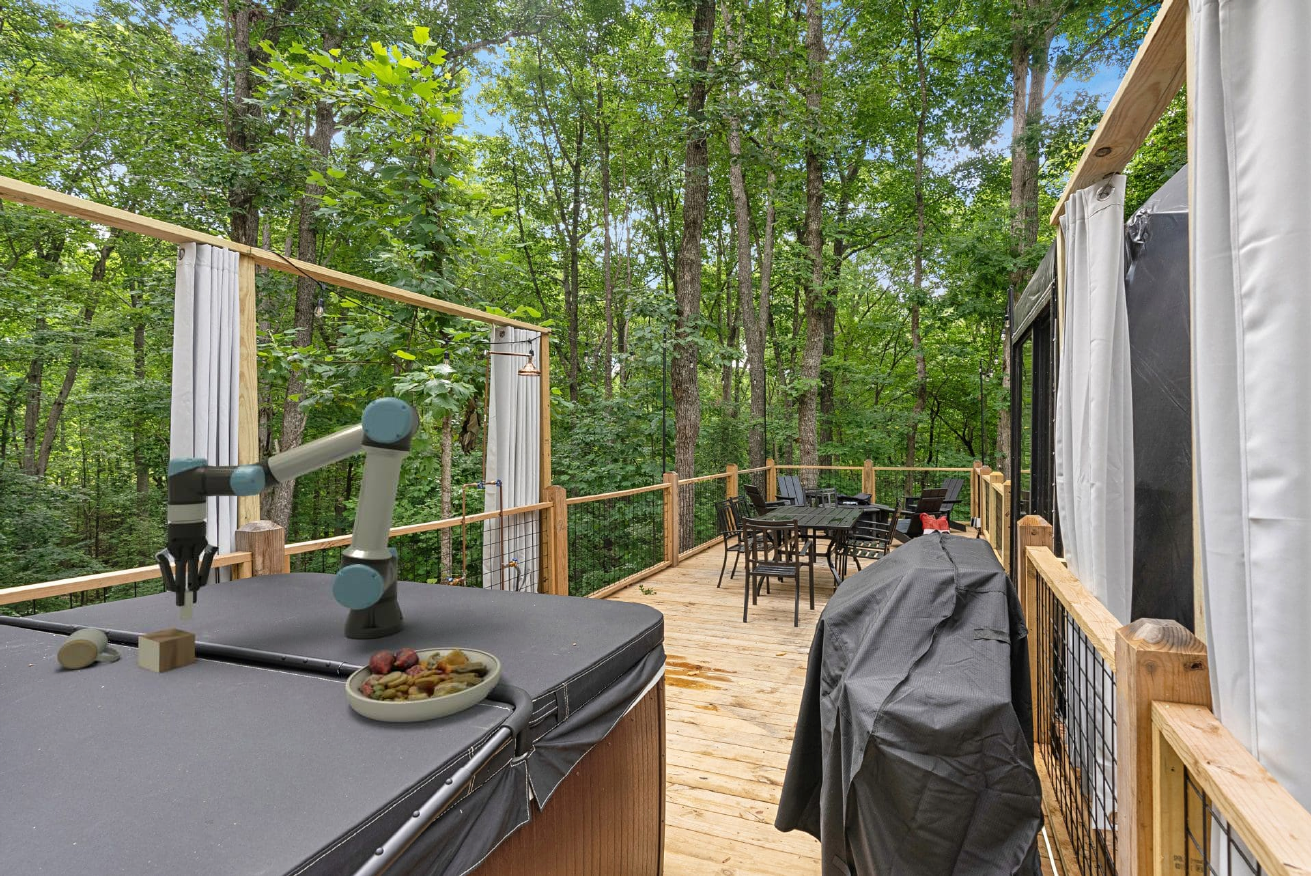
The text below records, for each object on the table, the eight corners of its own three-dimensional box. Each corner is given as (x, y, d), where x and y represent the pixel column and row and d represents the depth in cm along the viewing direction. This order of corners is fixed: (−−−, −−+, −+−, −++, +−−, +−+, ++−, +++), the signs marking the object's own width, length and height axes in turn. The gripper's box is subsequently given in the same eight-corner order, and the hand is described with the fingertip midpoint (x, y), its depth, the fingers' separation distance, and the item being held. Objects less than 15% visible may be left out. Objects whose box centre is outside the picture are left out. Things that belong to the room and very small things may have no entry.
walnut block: (195, 634, 141) (159, 642, 135) (194, 663, 141) (158, 673, 135) (173, 627, 146) (138, 636, 140) (173, 656, 146) (138, 665, 140)
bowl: (527, 678, 133) (527, 643, 133) (437, 741, 105) (437, 696, 105) (418, 662, 143) (418, 629, 143) (309, 715, 115) (309, 675, 115)
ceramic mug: (54, 673, 135) (55, 639, 135) (64, 662, 142) (65, 630, 142) (116, 665, 141) (117, 632, 141) (123, 654, 147) (124, 623, 148)
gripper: (209, 517, 152) (208, 609, 152) (147, 523, 140) (146, 623, 140) (225, 519, 148) (224, 613, 148) (162, 525, 137) (161, 627, 137)
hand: (186, 618), depth 144 cm, fingers closed
